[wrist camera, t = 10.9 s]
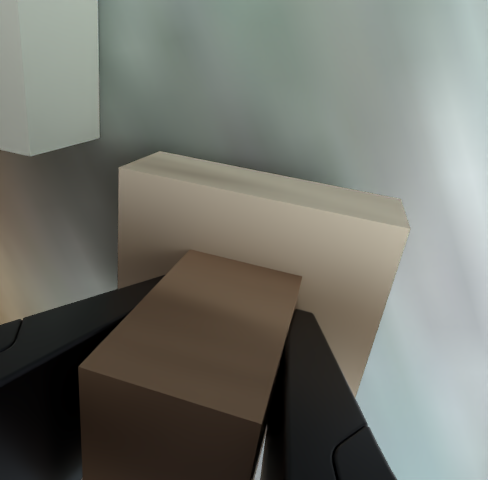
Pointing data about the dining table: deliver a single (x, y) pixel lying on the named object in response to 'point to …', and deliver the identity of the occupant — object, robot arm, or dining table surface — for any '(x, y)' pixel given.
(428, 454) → the dining table surface
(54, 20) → the deck
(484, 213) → the dining table surface
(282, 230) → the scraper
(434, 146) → the dining table surface
